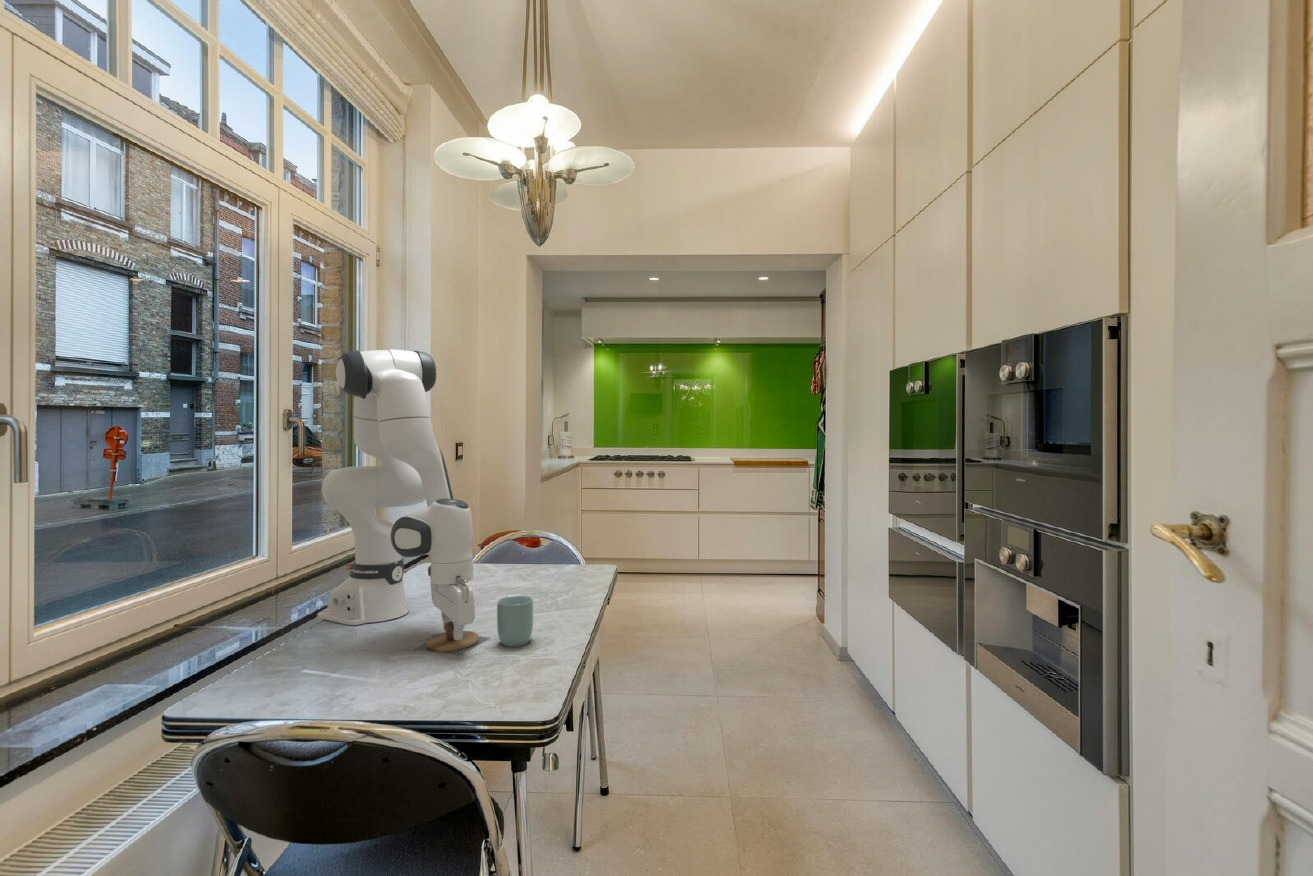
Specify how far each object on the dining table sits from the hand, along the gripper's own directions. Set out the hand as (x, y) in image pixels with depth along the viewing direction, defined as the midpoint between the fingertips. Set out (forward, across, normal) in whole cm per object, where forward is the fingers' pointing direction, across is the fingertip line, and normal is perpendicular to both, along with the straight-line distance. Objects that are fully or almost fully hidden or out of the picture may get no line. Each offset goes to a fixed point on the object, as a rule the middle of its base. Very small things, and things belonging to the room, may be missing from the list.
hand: (452, 634), depth 131 cm
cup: (+3, -8, -12) cm, 14 cm away
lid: (+2, 0, 0) cm, 2 cm away
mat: (+2, 0, 0) cm, 2 cm away
